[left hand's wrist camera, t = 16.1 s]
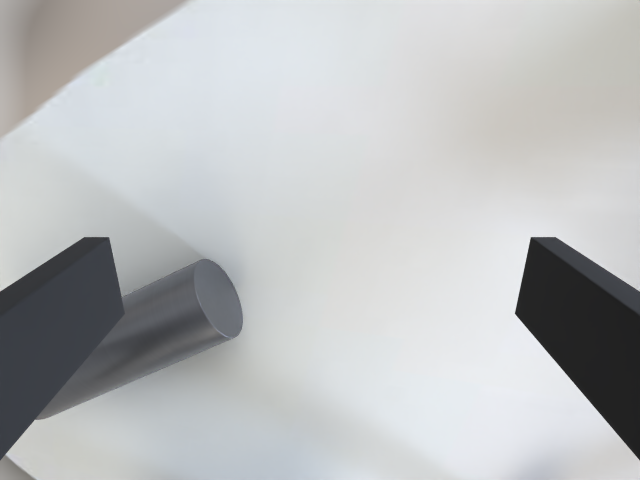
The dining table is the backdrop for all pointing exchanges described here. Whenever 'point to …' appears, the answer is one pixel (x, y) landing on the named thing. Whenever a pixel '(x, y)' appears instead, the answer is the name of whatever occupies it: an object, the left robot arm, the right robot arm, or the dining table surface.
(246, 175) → the dining table surface
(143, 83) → the dining table surface
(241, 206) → the dining table surface
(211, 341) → the rod
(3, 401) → the left robot arm
